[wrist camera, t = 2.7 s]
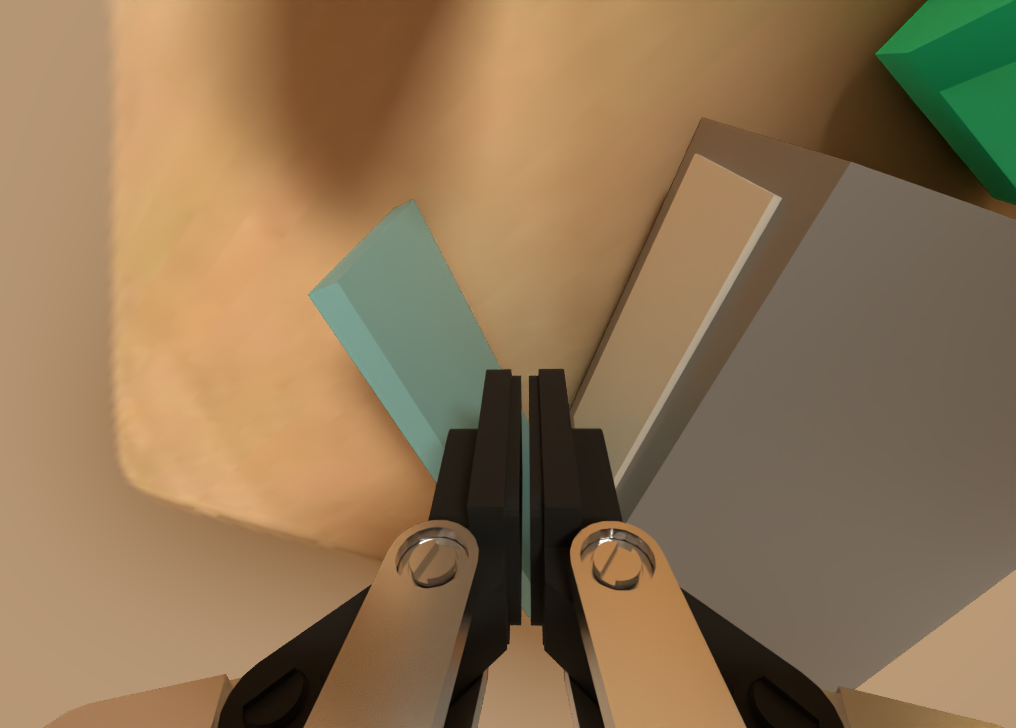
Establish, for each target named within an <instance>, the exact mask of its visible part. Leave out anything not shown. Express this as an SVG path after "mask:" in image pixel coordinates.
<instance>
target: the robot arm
mask: <svg viewBox="0 0 1016 728" xmlns="http://www.w3.org/2000/svg"><path fill="white" fill-rule="evenodd" d="M529 463H530V586H531V625H537V626H538V625H540V626H542V628H543V629H542V630H543V631H542V632H543V645H544V650H545V651H546V652H547V653H548V654H549V655H550V656H551V657H552V658H553V659H554V660H555V661H556V662H557V663H558V664H559V665H560V666H561V667H562V668H563V669H564V681H565V685H566V690H567V695H568V700H569V705H570V710H571V714H572V719H573V724H574V728H1003V727H1001V726H998V725H995V724H992V723H988V722H984V721H980V720H976V719H972V718H968V717H963V716H959V715H955V714H951V713H947V712H943V711H939V710H935V709H930V708H926V707H923V706H918V705H915V704H911V703H906V702H902V701H898V700H894V699H890V698H886V697H882V696H878V695H873V694H870V693H865V692H861V691H857V690H853V689H849V688H845V687H841V686H839V687H838V689H837V690H836V692H831V691H827V690H823V689H820V687H818V686H817V685H816V684H815V683H814V682H813V681H811V680H810V679H809V678H808V677H807V676H806V675H804V674H803V673H802V672H801V671H799V670H798V669H796V668H795V667H793V666H792V665H791V664H789V663H788V662H786V661H785V660H783V659H782V658H781V657H779V656H778V655H776V654H775V653H773V652H772V651H771V650H769V649H768V648H766V647H765V646H764V645H762V644H761V643H759V642H758V641H756V640H755V639H754V638H752V637H751V636H749V635H748V634H746V633H745V632H744V631H742V630H741V629H739V628H738V627H736V626H735V625H734V624H732V623H731V622H729V621H728V620H726V619H725V618H724V617H722V616H721V615H719V614H718V613H717V612H715V611H714V610H712V609H711V608H709V607H708V606H707V605H705V604H704V603H702V602H701V601H699V600H698V599H697V598H695V597H694V596H692V595H691V594H689V593H688V592H687V591H685V590H684V589H682V588H681V587H679V585H678V582H677V580H676V578H675V576H674V574H673V572H672V570H671V568H670V566H669V563H668V561H667V559H666V557H665V555H664V553H663V551H662V550H661V548H660V547H659V545H658V544H657V542H656V541H655V540H654V539H653V538H652V537H651V536H649V535H648V534H647V533H646V532H645V531H643V530H641V529H639V528H637V527H635V526H633V525H631V524H627V523H623V521H622V516H621V512H620V507H619V502H618V498H617V493H616V489H615V484H614V480H613V475H612V471H611V466H610V462H609V457H608V452H607V448H606V443H605V439H604V434H603V431H602V429H601V428H571V420H570V412H569V405H568V397H567V390H566V382H565V374H564V369H539V374H538V376H529ZM522 492H523V470H522V406H521V376H512V374H511V369H489V370H486V374H485V381H484V388H483V395H482V403H481V410H480V417H479V424H478V429H450V430H449V432H448V435H447V440H446V444H445V449H444V453H443V458H442V462H441V467H440V471H439V476H438V480H437V485H436V489H435V494H434V498H433V502H432V507H431V511H430V516H429V520H428V521H427V522H423V523H419V524H417V525H415V526H413V527H411V528H409V529H407V530H405V531H404V532H403V533H402V534H401V535H400V536H398V537H397V538H396V539H395V541H394V542H393V544H392V545H391V547H390V548H389V550H388V552H387V554H386V556H385V558H384V560H383V562H382V564H381V566H380V568H379V571H378V573H377V575H376V577H375V579H374V581H373V583H372V585H370V586H369V587H367V588H366V589H364V590H363V591H361V592H360V593H358V594H357V595H356V596H354V597H353V598H351V599H350V600H349V601H347V602H345V603H344V604H343V605H341V606H340V607H338V608H337V609H336V610H334V611H332V612H331V613H330V614H328V615H327V616H325V617H324V618H322V619H321V620H320V621H318V622H317V623H315V624H314V625H312V626H311V627H309V628H308V629H307V630H305V631H304V632H302V633H301V634H299V635H298V636H296V638H294V639H292V640H291V641H289V642H288V643H286V644H285V645H283V646H282V647H281V648H279V649H278V650H276V651H275V652H273V653H272V654H271V655H269V656H268V657H266V658H265V659H263V660H262V661H260V662H259V663H258V664H257V665H255V667H253V668H252V669H251V670H250V671H248V672H247V673H246V674H245V675H244V676H243V677H242V678H239V679H234V680H229V679H228V677H227V675H226V674H224V675H219V676H214V677H210V678H205V679H201V680H196V681H191V682H187V683H182V684H178V685H173V686H168V687H164V688H159V689H155V690H150V691H146V692H141V693H136V694H131V695H127V696H122V697H118V698H113V699H109V700H104V701H99V702H95V703H90V704H87V705H84V706H81V707H79V708H76V709H73V710H71V711H68V712H67V713H65V714H63V715H62V716H60V717H59V718H57V719H56V720H54V721H53V722H51V723H49V724H48V725H46V726H45V727H44V728H478V723H479V718H480V713H481V709H482V704H483V699H484V694H485V690H486V685H487V680H488V667H489V666H490V665H491V664H492V663H493V662H494V661H495V660H496V659H497V658H498V657H500V656H501V655H502V654H503V653H504V652H505V651H506V650H507V644H509V640H510V625H521V600H522Z"/></svg>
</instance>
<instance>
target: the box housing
mask: <svg viewBox="0 0 1016 728" xmlns="http://www.w3.org/2000/svg"><path fill="white" fill-rule="evenodd" d="M569 412H570V420H571V428H601V429H602V431H603V434H604V439H605V443H606V448H607V452H608V457H609V462H610V466H611V471H612V475H613V480H614V484H615V489H616V493H617V498H618V502H619V507H620V512H621V516H622V521H623V523H627V524H631V525H633V526H635V527H637V528H639V529H641V530H643V531H645V532H646V533H647V534H648V535H649V536H651V537H652V538H653V539H654V540H655V541H656V542H657V544H658V545H659V547H660V548H661V550H662V551H663V553H664V555H665V557H666V559H667V561H668V563H669V566H670V568H671V570H672V572H673V574H674V576H675V578H676V580H677V582H678V585H679V587H681V588H682V589H684V590H685V591H687V592H688V593H689V594H691V595H692V596H694V597H695V598H697V599H698V600H699V601H701V602H702V603H704V604H705V605H707V606H708V607H709V608H711V609H712V610H714V611H715V612H717V613H718V614H719V615H721V616H722V617H724V618H725V619H726V620H728V621H729V622H731V623H732V624H734V625H735V626H736V627H738V628H739V629H741V630H742V631H744V632H745V633H746V634H748V635H749V636H751V637H752V638H754V639H755V640H756V641H758V642H759V643H761V644H762V645H764V646H765V647H766V648H768V649H769V650H771V651H772V652H773V653H775V654H776V655H778V656H779V657H781V658H782V659H783V660H785V661H786V662H788V663H789V664H791V665H792V666H793V667H795V668H796V669H798V670H799V671H801V672H802V673H803V674H804V675H806V676H807V677H808V678H809V679H810V680H811V681H813V682H814V683H815V684H816V685H817V686H818V687H820V689H823V690H827V691H831V692H836V690H837V689H838V687H839V686H841V687H845V688H849V689H853V690H854V689H856V688H857V687H858V686H860V685H861V684H862V683H864V682H865V681H867V680H868V679H869V678H870V677H872V676H873V675H875V674H876V673H877V672H879V671H880V670H881V669H883V668H884V667H885V666H887V665H888V664H889V663H891V662H892V661H893V660H895V659H896V658H897V657H899V656H900V655H901V654H903V653H904V652H905V651H907V650H908V649H909V648H911V647H912V646H914V645H915V644H916V643H917V642H919V641H920V640H922V639H923V638H924V637H926V636H927V635H928V634H930V633H931V632H932V631H934V630H935V629H936V628H938V627H939V626H940V625H942V624H943V623H944V622H945V621H947V620H948V619H950V618H951V617H952V616H954V615H955V614H956V613H958V612H959V611H960V610H962V609H963V608H964V607H966V606H967V605H968V604H970V603H971V602H973V601H974V600H975V599H977V598H978V597H979V596H981V595H982V594H983V593H985V592H986V591H987V590H989V589H990V588H991V587H993V586H994V585H995V584H997V583H998V582H999V581H1001V580H1002V579H1003V578H1005V577H1006V576H1007V575H1009V574H1010V573H1011V572H1012V571H1014V570H1015V569H1016V219H1013V218H1010V217H1007V216H1005V215H1002V214H999V213H996V212H993V211H990V210H988V209H985V208H982V207H979V206H976V205H973V204H970V203H968V202H965V201H962V200H959V199H956V198H953V197H950V196H948V195H945V194H942V193H939V192H936V191H933V190H931V189H928V188H925V187H922V186H919V185H916V184H913V183H911V182H908V181H905V180H902V179H899V178H896V177H893V176H891V175H888V174H885V173H882V172H879V171H876V170H873V169H871V168H868V167H865V166H862V165H859V164H856V163H854V162H851V161H847V160H844V159H840V158H837V157H834V156H830V155H827V154H824V153H820V152H817V151H813V150H810V149H807V148H803V147H800V146H797V145H793V144H790V143H786V142H783V141H780V140H776V139H773V138H769V137H766V136H763V135H759V134H756V133H753V132H749V131H746V130H742V129H739V128H736V127H732V126H729V125H726V124H722V123H719V122H715V121H712V120H709V119H705V118H702V119H701V121H700V123H699V126H698V128H697V130H696V132H695V134H694V137H693V139H692V141H691V143H690V146H689V148H688V150H687V152H686V154H685V157H684V159H683V161H682V163H681V165H680V168H679V170H678V172H677V174H676V176H675V179H674V181H673V183H672V185H671V188H670V190H669V192H668V194H667V196H666V199H665V201H664V203H663V205H662V207H661V210H660V212H659V214H658V216H657V219H656V221H655V223H654V225H653V227H652V230H651V232H650V234H649V236H648V238H647V241H646V243H645V245H644V247H643V250H642V252H641V254H640V256H639V258H638V261H637V263H636V265H635V267H634V269H633V272H632V274H631V276H630V278H629V280H628V283H627V285H626V287H625V289H624V292H623V294H622V296H621V298H620V300H619V303H618V305H617V307H616V309H615V311H614V314H613V316H612V318H611V320H610V323H609V325H608V327H607V329H606V331H605V334H604V336H603V338H602V340H601V342H600V345H599V347H598V349H597V351H596V354H595V356H594V358H593V360H592V362H591V365H590V367H589V369H588V371H587V373H586V376H585V378H584V380H583V382H582V385H581V387H580V389H579V391H578V393H577V396H576V398H575V400H574V402H573V404H572V407H571V409H570V411H569Z"/></svg>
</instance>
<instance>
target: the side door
mask: <svg viewBox="0 0 1016 728" xmlns="http://www.w3.org/2000/svg"><path fill="white" fill-rule="evenodd" d="M308 296H309V297H310V299H311V300H312V302H313V303H314V305H315V306H316V307H317V309H318V310H319V312H320V313H321V315H322V316H323V318H324V319H325V321H326V322H327V324H328V325H329V327H330V328H331V329H332V331H333V332H334V334H335V335H336V337H337V338H338V340H339V341H340V343H341V344H342V346H343V347H344V348H345V350H346V351H347V353H348V354H349V356H350V357H351V359H352V360H353V362H354V363H355V365H356V366H357V368H358V369H359V370H360V372H361V373H362V375H363V376H364V378H365V379H366V381H367V382H368V384H369V385H370V387H371V388H372V389H373V391H374V392H375V394H376V395H377V397H378V398H379V400H380V401H381V403H382V404H383V406H384V407H385V409H386V410H387V411H388V413H389V414H390V416H391V417H392V419H393V420H394V422H395V423H396V425H397V426H398V428H399V429H400V430H401V432H402V433H403V435H404V436H405V438H406V439H407V441H408V442H409V444H410V445H411V447H412V448H413V449H414V451H415V452H416V454H417V455H418V457H419V458H420V460H421V461H422V463H423V464H424V466H425V467H426V469H427V470H428V471H429V473H430V474H431V476H432V477H433V479H434V480H435V482H436V483H437V480H438V476H439V471H440V467H441V462H442V458H443V453H444V449H445V444H446V440H447V435H448V432H449V430H450V429H478V424H479V417H480V410H481V403H482V395H483V388H484V381H485V374H486V370H489V369H501V368H500V366H499V364H498V362H497V360H496V358H495V356H494V354H493V352H492V350H491V348H490V346H489V344H488V342H487V341H486V339H485V337H484V335H483V333H482V331H481V329H480V327H479V325H478V323H477V321H476V319H475V317H474V315H473V313H472V311H471V309H470V307H469V306H468V304H467V302H466V300H465V298H464V296H463V294H462V292H461V290H460V288H459V286H458V284H457V282H456V280H455V278H454V276H453V274H452V272H451V271H450V269H449V267H448V265H447V263H446V261H445V259H444V257H443V255H442V253H441V251H440V249H439V247H438V245H437V243H436V241H435V239H434V237H433V236H432V234H431V232H430V230H429V228H428V226H427V224H426V222H425V220H424V218H423V216H422V214H421V212H420V210H419V208H418V206H417V204H416V202H415V201H414V199H413V200H411V201H408V202H406V203H404V204H402V205H400V206H398V207H395V208H394V209H393V210H392V211H391V212H390V213H389V214H388V215H387V216H386V217H385V218H384V219H383V220H382V221H381V222H380V223H379V224H378V225H377V226H376V227H375V228H374V229H373V230H372V231H371V232H370V233H369V234H368V235H367V236H366V237H365V238H364V239H363V240H362V241H361V242H360V243H359V244H358V245H357V246H356V247H355V248H354V249H353V250H352V251H351V252H350V253H349V254H348V255H347V256H346V257H345V258H344V259H343V260H342V261H341V262H340V263H339V264H338V265H337V266H336V267H335V268H334V269H333V270H332V271H331V272H330V273H329V274H328V275H327V276H326V277H325V278H324V279H323V280H322V281H321V282H320V283H319V284H318V285H317V286H316V287H315V288H314V289H313V290H312V291H311V292H310V293H309V294H308ZM522 470H523V492H522V600H521V608H522V609H523V611H524V612H525V613H526V615H527V616H528V617H531V586H530V463H529V422H528V420H527V418H526V416H525V414H524V412H523V411H522Z"/></svg>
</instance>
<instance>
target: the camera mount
mask: <svg viewBox="0 0 1016 728" xmlns="http://www.w3.org/2000/svg"><path fill="white" fill-rule="evenodd" d="M875 55H876V56H877V58H878V59H879V60H880V61H881V62H882V64H883V65H884V66H885V67H886V68H887V70H888V71H889V72H890V73H891V75H892V76H893V77H894V78H895V79H896V81H897V82H898V83H899V84H900V85H901V87H902V88H903V89H904V90H905V92H906V93H907V94H908V95H909V96H910V98H911V99H912V100H913V101H914V102H915V104H916V105H917V106H918V107H919V109H920V110H921V111H922V112H923V113H924V115H925V116H926V117H927V118H928V119H929V121H930V122H931V123H932V124H933V126H934V127H935V128H936V129H937V130H938V132H939V133H940V134H941V135H942V136H943V138H944V139H945V140H946V141H947V143H948V144H949V145H950V146H951V147H952V149H953V150H954V151H955V152H956V153H957V155H958V156H959V157H960V158H961V160H962V161H963V162H964V163H965V164H966V166H967V167H968V168H969V169H970V170H971V172H972V173H973V174H974V175H975V177H976V178H977V179H978V180H979V181H980V183H981V184H982V185H983V186H984V187H985V189H986V190H987V191H988V192H989V194H990V195H991V196H992V197H994V198H995V199H998V200H1001V201H1004V202H1008V203H1011V204H1015V205H1016V0H928V1H927V2H926V3H925V4H924V5H923V6H922V7H921V8H920V9H919V10H918V11H917V12H916V13H915V14H914V15H913V16H912V17H911V18H910V19H909V20H908V21H907V22H906V23H905V24H904V25H903V26H902V27H901V28H900V29H899V30H898V31H897V32H896V33H895V34H894V35H893V36H892V37H891V38H890V39H889V40H888V41H887V42H886V43H885V44H884V45H883V46H882V47H881V48H880V49H879V50H878V51H877V52H876V53H875Z"/></svg>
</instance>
